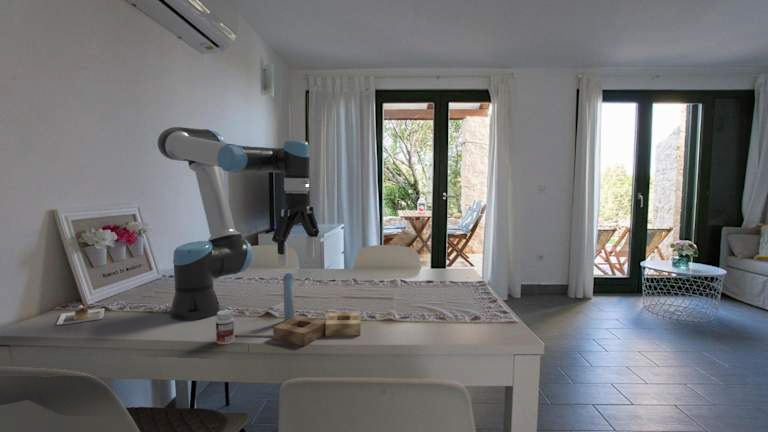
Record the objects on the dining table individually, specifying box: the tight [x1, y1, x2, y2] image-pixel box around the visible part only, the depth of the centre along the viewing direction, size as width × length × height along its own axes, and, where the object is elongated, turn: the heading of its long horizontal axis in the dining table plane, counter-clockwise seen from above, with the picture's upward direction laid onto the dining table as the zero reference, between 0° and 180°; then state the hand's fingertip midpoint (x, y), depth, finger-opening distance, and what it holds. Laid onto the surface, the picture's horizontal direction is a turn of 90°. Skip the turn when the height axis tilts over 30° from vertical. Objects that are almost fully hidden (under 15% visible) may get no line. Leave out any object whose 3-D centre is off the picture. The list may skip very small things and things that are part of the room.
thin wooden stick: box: [235, 333, 273, 338], centre depth 123 cm, size 16×1×1 cm, turn 88°
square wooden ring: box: [272, 315, 326, 347], centre depth 123 cm, size 11×11×4 cm
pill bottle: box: [215, 309, 236, 345], centre depth 119 cm, size 5×5×8 cm
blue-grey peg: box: [283, 272, 295, 322], centre depth 135 cm, size 3×3×16 cm
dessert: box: [55, 304, 106, 326], centre depth 139 cm, size 12×12×5 cm
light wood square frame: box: [325, 311, 362, 337], centre depth 129 cm, size 10×10×4 cm
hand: (297, 260), depth 134 cm, fingers open, 13 cm apart
